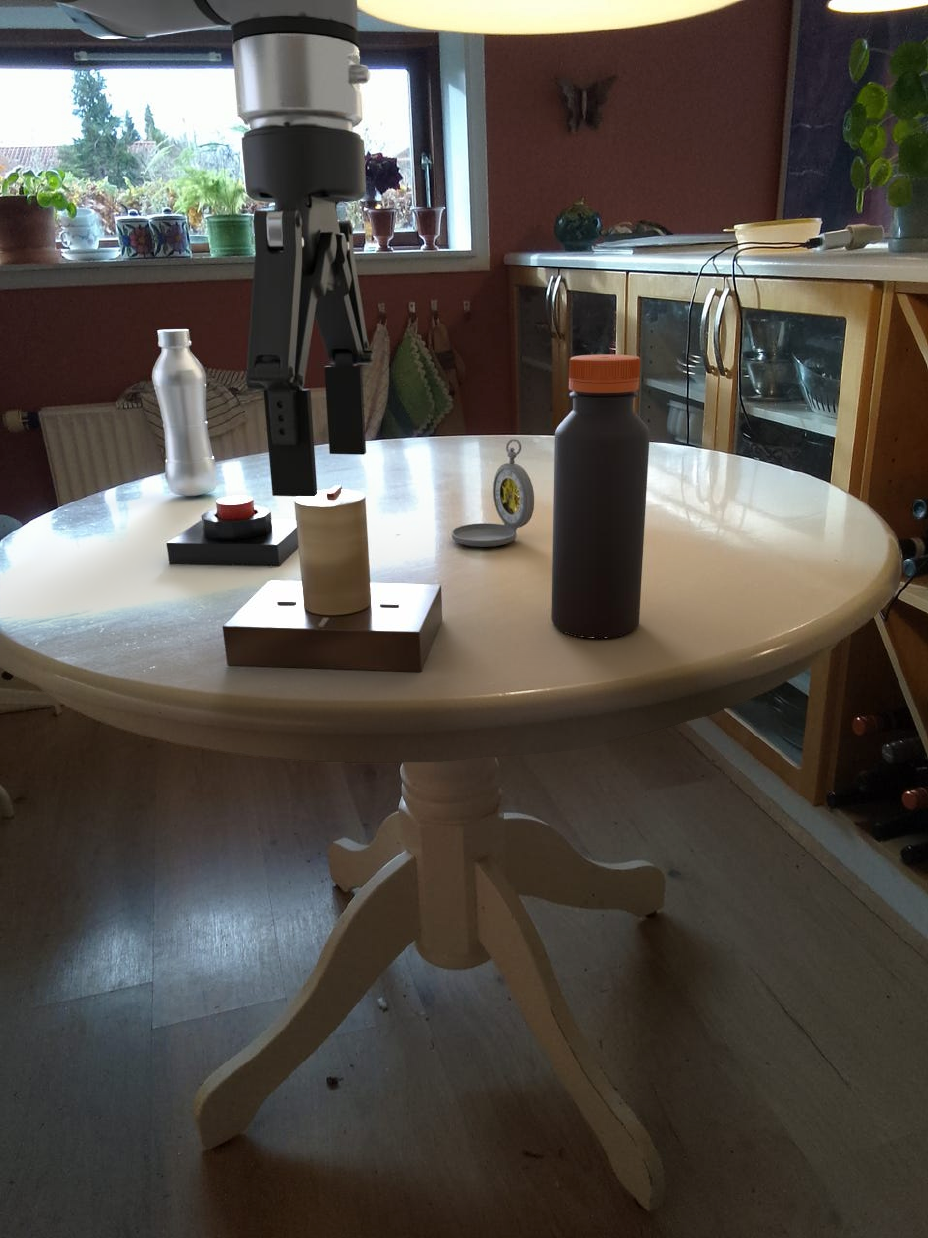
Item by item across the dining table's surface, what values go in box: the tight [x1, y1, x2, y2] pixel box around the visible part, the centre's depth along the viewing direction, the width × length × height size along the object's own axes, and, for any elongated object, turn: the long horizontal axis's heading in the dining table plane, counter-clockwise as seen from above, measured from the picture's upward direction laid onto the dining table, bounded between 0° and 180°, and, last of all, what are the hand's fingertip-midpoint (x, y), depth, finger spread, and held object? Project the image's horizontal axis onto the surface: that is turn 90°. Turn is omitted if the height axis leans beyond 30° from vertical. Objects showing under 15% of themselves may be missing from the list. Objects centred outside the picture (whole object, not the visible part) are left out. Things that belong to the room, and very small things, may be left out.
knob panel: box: [222, 580, 443, 673], centre depth 67 cm, size 14×10×3 cm
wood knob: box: [293, 485, 372, 615], centre depth 64 cm, size 5×5×8 cm
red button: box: [215, 495, 255, 519], centre depth 88 cm, size 4×4×2 cm
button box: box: [166, 505, 299, 568], centre depth 89 cm, size 11×9×4 cm
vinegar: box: [550, 353, 651, 639], centre depth 66 cm, size 7×7×20 cm
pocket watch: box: [451, 438, 535, 548], centre depth 90 cm, size 8×8×10 cm
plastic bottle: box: [151, 328, 219, 497], centre depth 110 cm, size 6×7×20 cm
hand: (324, 472), depth 63 cm, fingers open, 13 cm apart
